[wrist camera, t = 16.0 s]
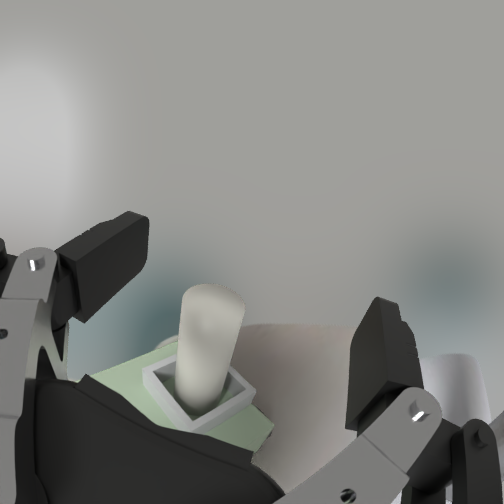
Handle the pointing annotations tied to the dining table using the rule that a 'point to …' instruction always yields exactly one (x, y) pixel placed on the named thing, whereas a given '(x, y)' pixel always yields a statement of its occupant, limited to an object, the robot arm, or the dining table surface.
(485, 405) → the dining table surface
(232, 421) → the pale green toy car
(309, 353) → the dining table surface
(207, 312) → the spout tube
